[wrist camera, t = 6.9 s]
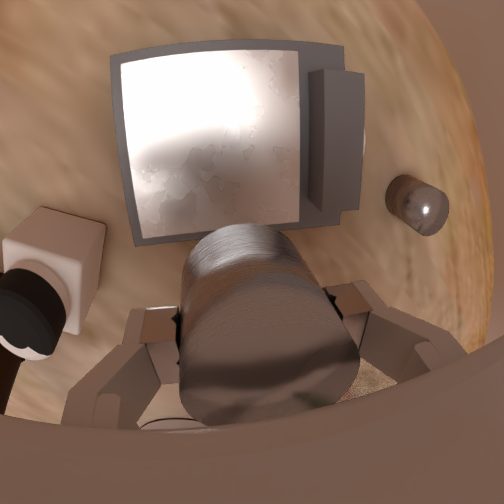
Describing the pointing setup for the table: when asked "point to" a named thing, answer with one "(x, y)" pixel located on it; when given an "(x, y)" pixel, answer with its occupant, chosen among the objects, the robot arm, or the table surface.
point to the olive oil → (7, 373)
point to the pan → (213, 139)
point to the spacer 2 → (417, 204)
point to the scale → (311, 130)
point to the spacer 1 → (257, 331)
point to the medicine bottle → (48, 280)
